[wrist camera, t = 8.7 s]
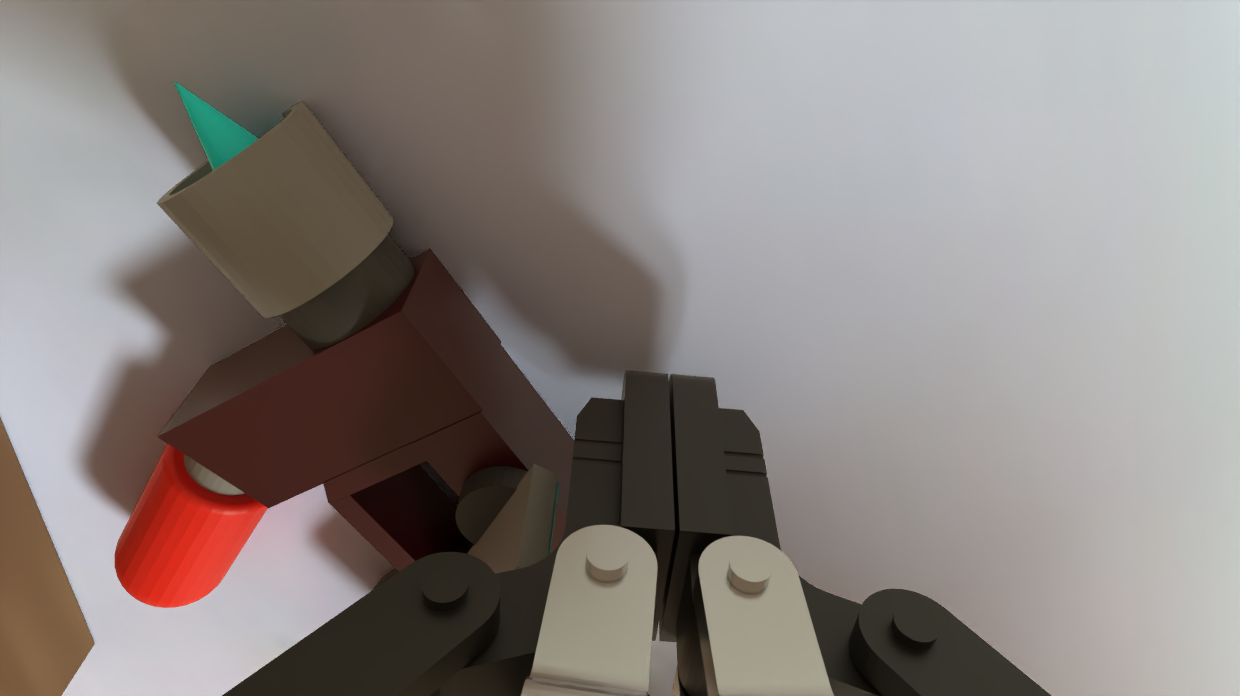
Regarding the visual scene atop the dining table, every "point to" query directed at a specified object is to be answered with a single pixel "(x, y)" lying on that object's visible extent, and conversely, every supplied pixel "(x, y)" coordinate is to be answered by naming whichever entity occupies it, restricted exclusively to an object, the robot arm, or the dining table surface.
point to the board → (33, 595)
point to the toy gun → (337, 382)
